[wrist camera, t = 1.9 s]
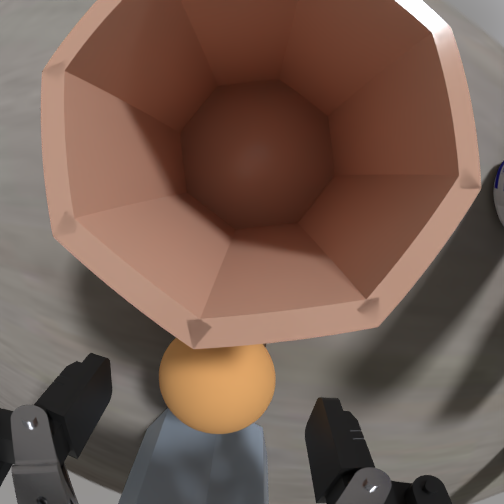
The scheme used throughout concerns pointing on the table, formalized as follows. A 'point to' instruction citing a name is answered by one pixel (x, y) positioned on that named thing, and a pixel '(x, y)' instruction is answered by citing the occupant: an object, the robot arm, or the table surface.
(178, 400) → the orange ball
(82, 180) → the tube terracotta
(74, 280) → the table surface
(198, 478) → the tube slate
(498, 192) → the beverage can
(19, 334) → the table surface
